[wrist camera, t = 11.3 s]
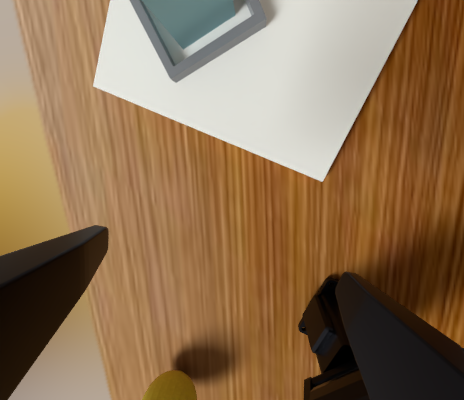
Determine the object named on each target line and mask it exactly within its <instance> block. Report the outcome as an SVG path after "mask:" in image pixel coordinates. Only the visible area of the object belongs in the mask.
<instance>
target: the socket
mask: <svg viewBox="0 0 464 400" xmlns="http://www.w3.org/2000/svg"><path fill="white" fill-rule="evenodd" d="M130 2H131V4H132V6H133V8H134V10H135V12H136V14H137V16H138V18H139V20H140V22H141V23H142V25H143V27H144V29H145V31H146V33H147V35H148V37H149V39H150V41H151V43H152V45H153V47H154V48H155V50H156V52H157V54H158V56H159V58H160V60H161V62H162V64H163V66H164V68H165V70H166V72H167V74H168V75H169V77H170V79H171V80H172V81H174V82H175V83H177V82H178V81H180V80H182V79H183V78H185V77H186V76H188V75H190V74H191V73H193V72H194V71H196V70H198V69H199V68H201V67H202V66H204V65H206V64H207V63H209V62H210V61H212V60H214V59H215V58H217V57H218V56H220V55H222V54H223V53H225V52H226V51H228V50H230V49H231V48H233V47H234V46H236V45H238V44H239V43H241V42H242V41H244V40H246V39H247V38H249V37H250V36H252V35H253V34H255V33H257V32H258V31H260V30H261V29H263V28H265V27H266V20H267V18H266V16H265V13H264V11H263V8H262V6H261V4H260V1H259V0H245V2H246V4H247V7H248V9H249V11H250V13H251V17H249V18H248V19H246V20H245V21H243V22H242V23H240V24H238V25H237V26H235V27H234V28H232V29H231V30H229V31H228V32H226V33H225V34H223V35H221V36H220V37H218V38H217V39H215V40H214V41H212V42H211V43H209V44H207V45H206V46H204V47H203V48H201V49H200V50H198V51H197V52H195V53H194V54H192V55H190V56H189V57H187V58H186V59H184V60H183V61H181V62H180V63H178V64H177V65H175V63H174V61H173V59H172V57H171V55H170V53H169V51H168V49H167V47H166V45H165V43H164V41H163V39H162V38H161V36H160V34H159V32H158V30H157V28H156V26H155V24H154V22H153V20H152V18H151V16H150V14H149V12H148V10H147V8H146V6H145V4H144V2H143V1H142V0H130Z"/></svg>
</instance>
